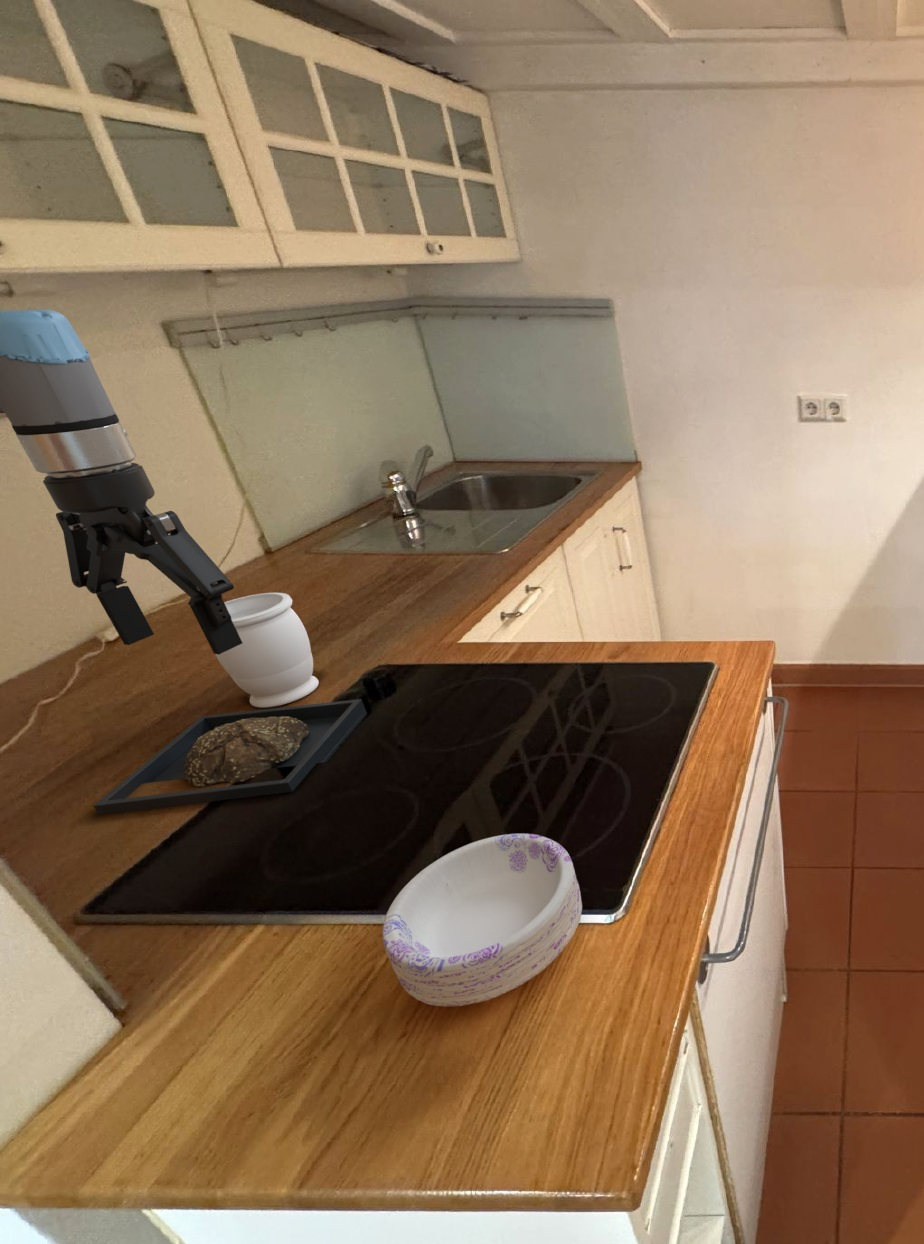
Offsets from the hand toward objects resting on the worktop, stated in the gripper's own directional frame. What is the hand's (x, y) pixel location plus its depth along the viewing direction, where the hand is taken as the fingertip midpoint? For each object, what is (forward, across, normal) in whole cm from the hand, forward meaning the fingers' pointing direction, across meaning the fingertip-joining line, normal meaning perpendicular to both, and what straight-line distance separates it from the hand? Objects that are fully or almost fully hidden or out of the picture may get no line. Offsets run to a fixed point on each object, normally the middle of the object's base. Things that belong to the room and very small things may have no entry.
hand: (183, 644), depth 83 cm
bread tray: (+18, +1, -1) cm, 19 cm away
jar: (+19, +12, -16) cm, 27 cm away
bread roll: (+18, +1, -1) cm, 18 cm away
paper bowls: (+19, -52, +18) cm, 58 cm away
